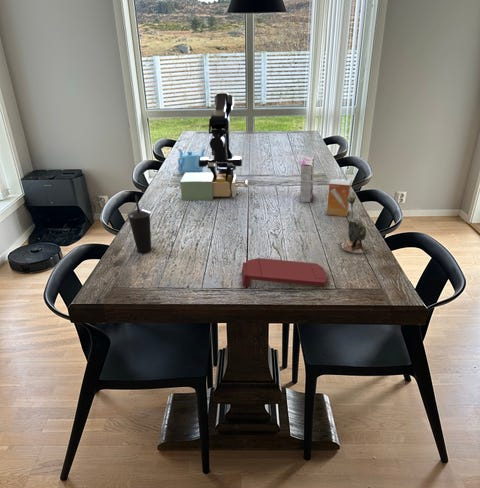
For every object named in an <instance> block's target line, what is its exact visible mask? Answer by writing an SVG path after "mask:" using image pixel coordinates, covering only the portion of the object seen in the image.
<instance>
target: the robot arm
mask: <svg viewBox="0 0 480 488" xmlns="http://www.w3.org/2000/svg"><path fill="white" fill-rule="evenodd" d="M214 106H215V109H214V111H212V112H211V114H210V117H209V118H208V134H210V135H212V137H211V139H210V141H209V147H210V149H211V156H213V159H212V158H211V159H210V157H209V156H204V157H201V158H200V160H199V167H203V168H207V169H209V170H210V172H212V173H213V175H214V178H215V180H216V178H217V175H218V174H226V181H227V179H228V175H231V184H232V180H233V176H234V171H235V170H237V167H242V165H243V157H242V156H234V154H233V152H232V151H231V149H230V116H231V114H232V112H233V107H234V106H235V99H234V96H233V95H231V94H229V93H228V92H216V95H214ZM217 171H218V173H217Z"/></svg>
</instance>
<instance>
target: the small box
mask: <svg viewBox="0 0 480 488" xmlns="http://www.w3.org/2000/svg"><path fill="white" fill-rule="evenodd" d="M352 182H353V181H352V180H351V179H336V178H331V179H330V182H329V185H328V195H327V205H326V206H327V207H326V215H328V216H339V217H347V216H348V213H349V207H350V203H349V201H348V198H347V197H348V195H349V194H350V192H352V191H351V189H352ZM347 201H348V202H347Z"/></svg>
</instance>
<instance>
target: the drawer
mask: <svg viewBox="0 0 480 488" xmlns="http://www.w3.org/2000/svg"><path fill="white" fill-rule="evenodd" d="M248 186H249V180H248V179H246V180H237V173H236V174H234V173H233V180H232V183H231V175H228V179H227V181H226V182H216V180H215V178H213V181H212V190H213V196H214V197H231V196H232V198H236V195H237V190H238V187H244V188H248ZM231 194H232V195H231Z"/></svg>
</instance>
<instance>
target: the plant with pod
mask: <svg viewBox="0 0 480 488" xmlns="http://www.w3.org/2000/svg"><path fill="white" fill-rule="evenodd" d="M347 198H348V201H349V204H350V207H351V219H349V221H348V232H347V233H348V240H347V241H344V242H340V243H339V245H340V247H341V248H342V250H344V251H347V252H350V253H352V254H357V255H358V254H364V253H366V252H367V248H366V247H365V245H363V241H364V240H366V237H367V226H366V225H365V224H364V223H365V222H363V220H362V219H360V218H354V216H353V215H354V212H353V211H354V210H353V206H354V203H355V202H356V199H357V197H356V194H355V192H354V191H350V194H349V195H348V197H347ZM348 201H347V202H348Z"/></svg>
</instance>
